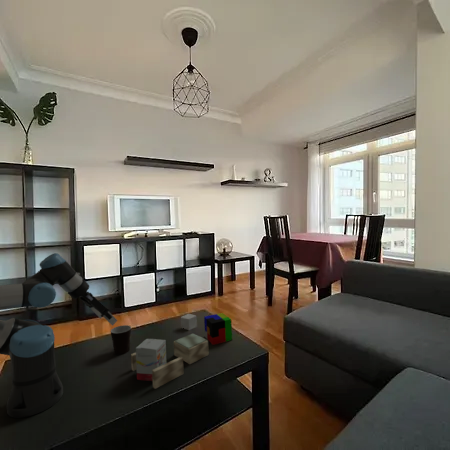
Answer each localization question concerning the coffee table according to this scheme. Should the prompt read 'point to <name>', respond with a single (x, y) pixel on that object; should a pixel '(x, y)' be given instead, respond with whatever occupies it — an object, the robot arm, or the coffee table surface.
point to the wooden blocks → (178, 359)
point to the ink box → (150, 357)
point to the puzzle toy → (218, 328)
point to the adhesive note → (189, 321)
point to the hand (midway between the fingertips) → (108, 319)
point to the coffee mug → (121, 339)
